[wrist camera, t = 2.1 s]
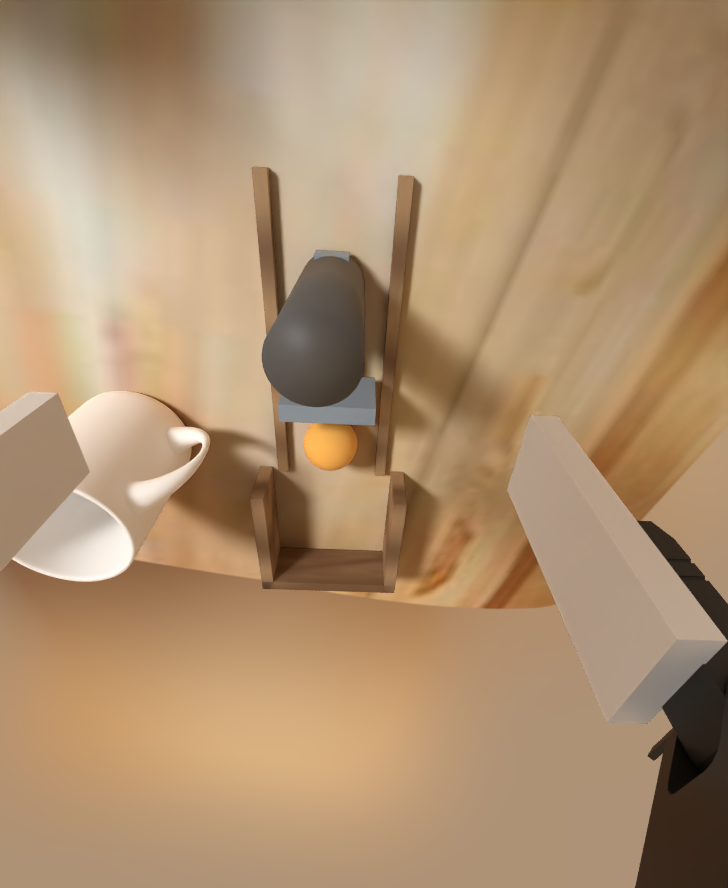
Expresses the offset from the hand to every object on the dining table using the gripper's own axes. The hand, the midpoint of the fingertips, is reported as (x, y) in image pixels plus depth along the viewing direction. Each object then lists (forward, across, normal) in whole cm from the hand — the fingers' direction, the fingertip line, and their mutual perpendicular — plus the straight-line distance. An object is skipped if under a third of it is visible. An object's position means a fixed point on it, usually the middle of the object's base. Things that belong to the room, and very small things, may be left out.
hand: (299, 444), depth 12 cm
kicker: (+17, 0, -2) cm, 17 cm away
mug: (+18, -14, -11) cm, 25 cm away
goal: (+18, 0, -20) cm, 27 cm away
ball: (+16, 0, -11) cm, 19 cm away
